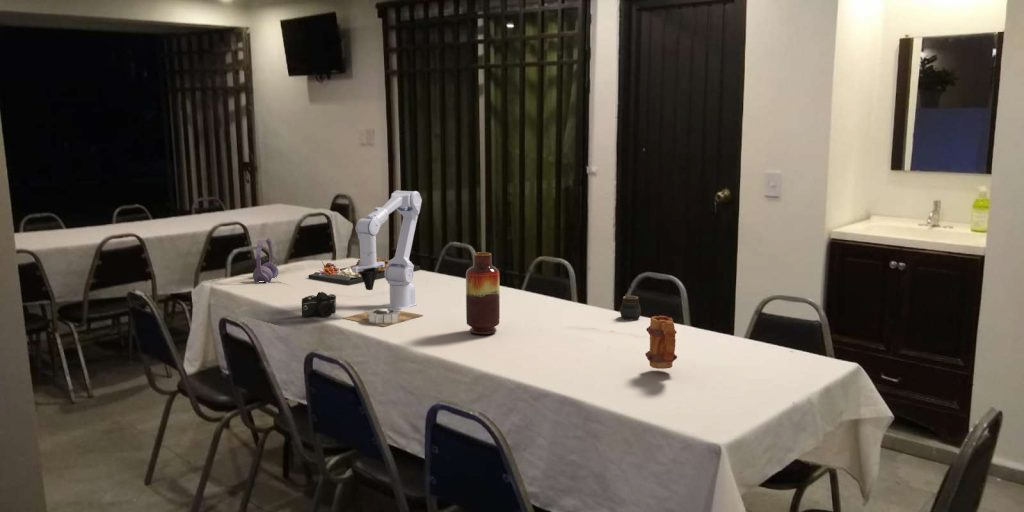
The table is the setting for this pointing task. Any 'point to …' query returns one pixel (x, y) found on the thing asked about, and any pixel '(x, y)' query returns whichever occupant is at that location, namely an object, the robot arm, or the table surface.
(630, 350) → the table surface
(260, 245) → the headphones
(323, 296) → the film camera
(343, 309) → the table surface
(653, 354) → the mug
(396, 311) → the grey faceted ring
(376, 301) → the table surface
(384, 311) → the cap
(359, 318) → the board
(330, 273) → the food platter
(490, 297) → the vase
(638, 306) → the mate gourd
